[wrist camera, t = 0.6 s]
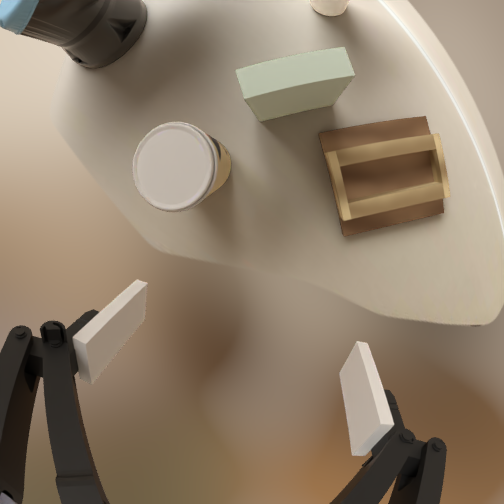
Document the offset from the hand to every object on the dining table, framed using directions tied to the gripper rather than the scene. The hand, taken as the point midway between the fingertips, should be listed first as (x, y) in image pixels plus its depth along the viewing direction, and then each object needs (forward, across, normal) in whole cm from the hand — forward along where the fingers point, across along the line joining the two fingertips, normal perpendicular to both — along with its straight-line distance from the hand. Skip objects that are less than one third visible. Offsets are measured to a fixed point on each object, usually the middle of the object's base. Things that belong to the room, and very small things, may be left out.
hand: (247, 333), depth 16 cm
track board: (+24, +13, +13) cm, 30 cm away
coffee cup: (+25, -11, +7) cm, 28 cm away
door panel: (+25, -2, +18) cm, 31 cm away
